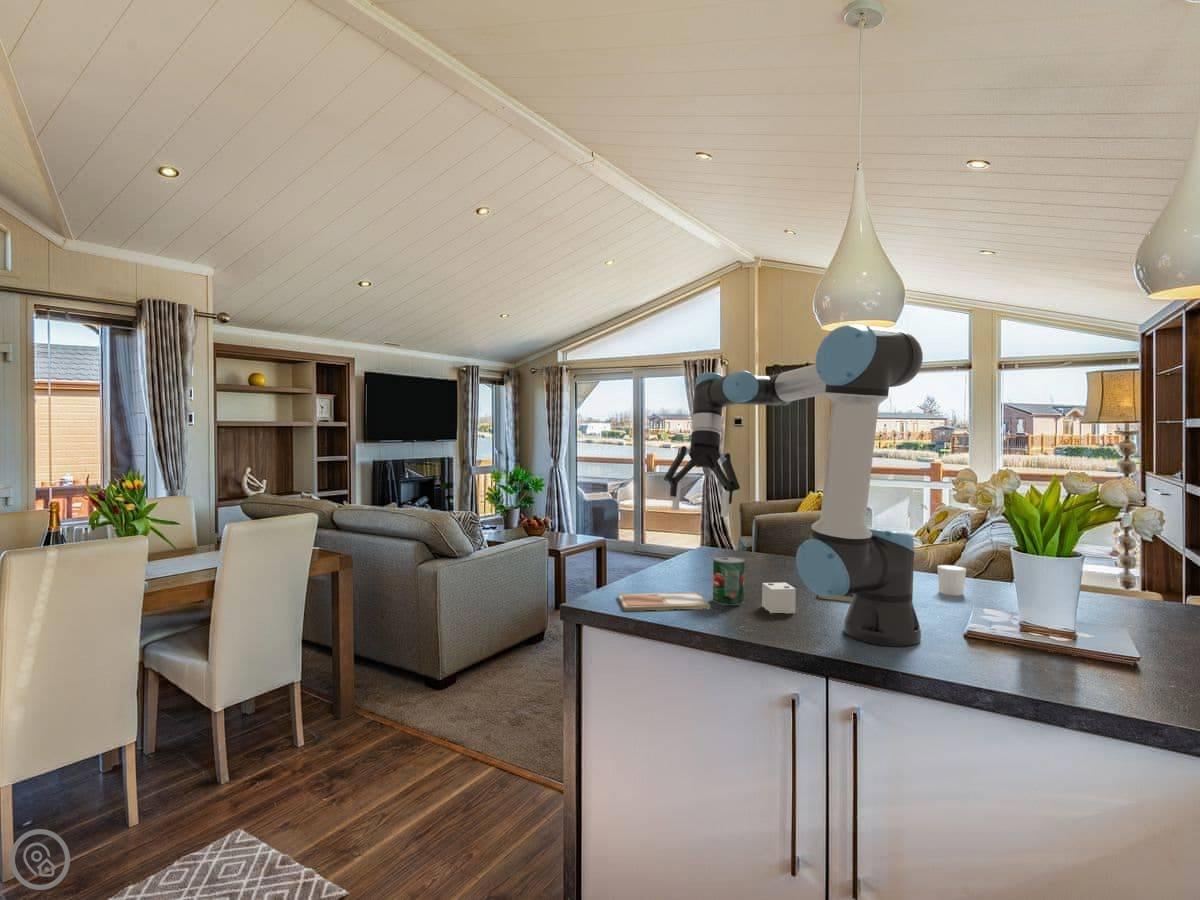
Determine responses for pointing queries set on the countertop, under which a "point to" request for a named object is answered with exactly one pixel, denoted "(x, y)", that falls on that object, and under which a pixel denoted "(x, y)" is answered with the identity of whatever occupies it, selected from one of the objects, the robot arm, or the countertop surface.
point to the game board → (662, 601)
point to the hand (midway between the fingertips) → (699, 513)
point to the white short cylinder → (951, 579)
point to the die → (778, 597)
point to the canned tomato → (728, 580)
